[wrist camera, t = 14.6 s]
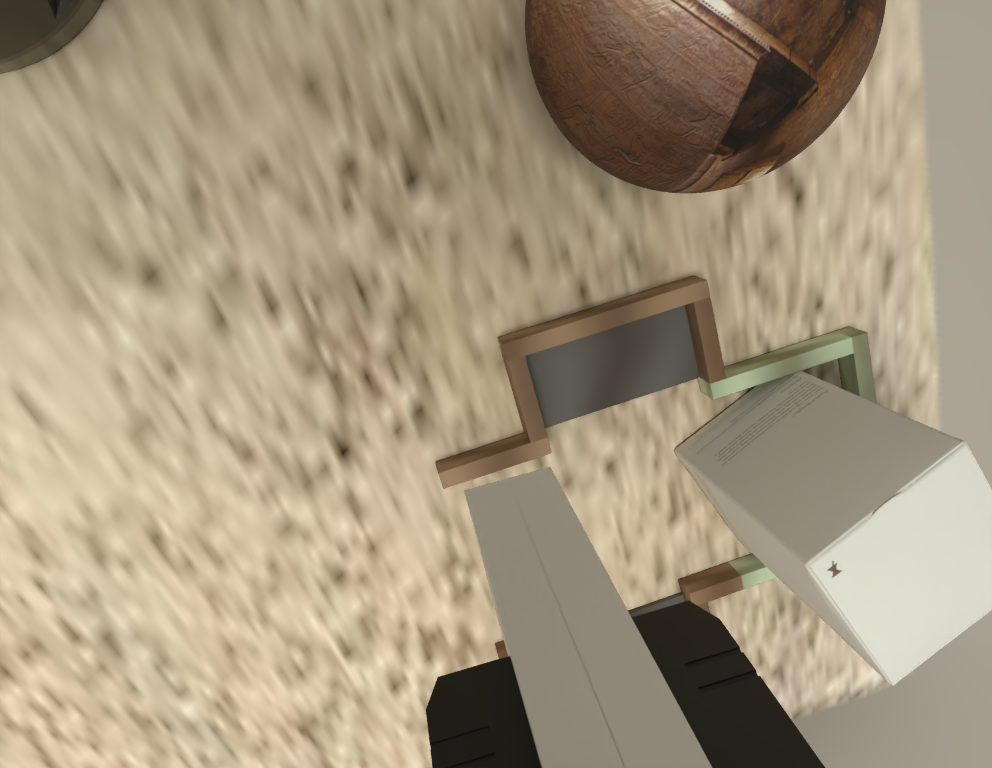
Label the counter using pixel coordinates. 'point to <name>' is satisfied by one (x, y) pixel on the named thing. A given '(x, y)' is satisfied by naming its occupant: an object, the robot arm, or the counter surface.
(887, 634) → the supplement box
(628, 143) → the wooden sphere
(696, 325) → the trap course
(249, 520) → the counter surface
